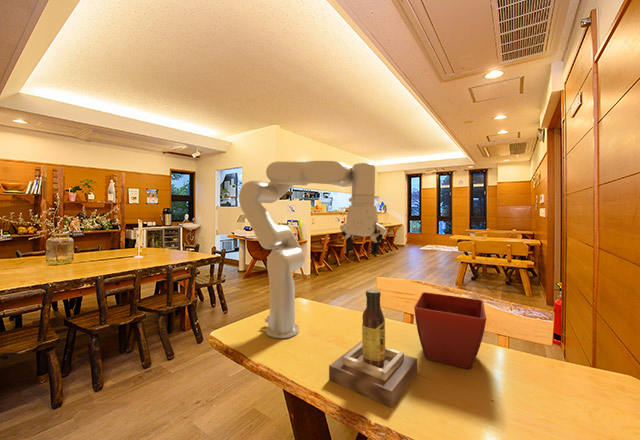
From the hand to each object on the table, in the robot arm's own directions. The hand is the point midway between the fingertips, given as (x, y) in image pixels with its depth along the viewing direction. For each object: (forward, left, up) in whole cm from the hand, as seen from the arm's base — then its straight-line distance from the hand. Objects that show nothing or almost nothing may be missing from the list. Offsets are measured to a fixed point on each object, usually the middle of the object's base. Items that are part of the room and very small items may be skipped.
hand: (361, 252), depth 93 cm
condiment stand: (+11, -12, -32) cm, 36 cm away
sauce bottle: (+11, -12, -29) cm, 33 cm away
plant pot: (+25, +13, -33) cm, 43 cm away
